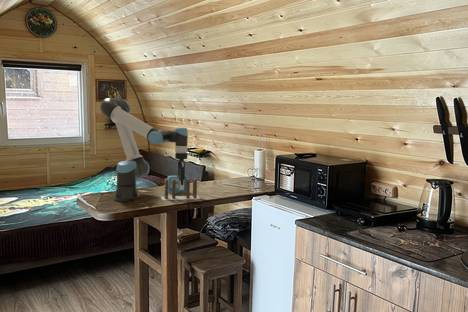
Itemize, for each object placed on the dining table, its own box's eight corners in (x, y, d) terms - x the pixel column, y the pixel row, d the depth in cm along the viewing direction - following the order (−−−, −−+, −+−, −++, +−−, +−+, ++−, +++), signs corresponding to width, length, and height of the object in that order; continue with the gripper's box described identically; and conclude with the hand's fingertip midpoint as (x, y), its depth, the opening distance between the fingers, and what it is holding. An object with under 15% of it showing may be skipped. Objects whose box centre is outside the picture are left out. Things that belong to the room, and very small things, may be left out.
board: (162, 201, 260) (162, 200, 260) (160, 198, 269) (160, 196, 269) (200, 200, 267) (200, 198, 266) (197, 197, 276) (197, 195, 276)
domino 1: (165, 199, 263) (165, 179, 261) (164, 197, 268) (164, 178, 266) (168, 198, 263) (168, 179, 262) (167, 197, 268) (167, 178, 267)
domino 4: (187, 198, 266) (187, 179, 265) (185, 196, 271) (186, 178, 270) (189, 198, 267) (189, 179, 266) (188, 196, 272) (188, 178, 270)
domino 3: (180, 191, 265) (180, 172, 263) (179, 189, 269) (179, 170, 268) (183, 190, 265) (183, 171, 264) (181, 189, 270) (181, 170, 269)
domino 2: (172, 198, 264) (173, 179, 263) (171, 197, 269) (171, 178, 267) (175, 198, 264) (175, 179, 263) (174, 197, 269) (174, 178, 268)
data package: (169, 194, 280) (169, 176, 279) (166, 193, 284) (167, 175, 283) (186, 193, 286) (186, 176, 285) (183, 192, 290) (183, 175, 289)
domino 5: (194, 198, 268) (194, 179, 266) (192, 196, 273) (193, 178, 271) (196, 198, 268) (197, 179, 267) (195, 196, 273) (195, 178, 272)
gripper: (189, 153, 257) (189, 191, 260) (185, 150, 274) (184, 186, 277) (177, 154, 255) (177, 192, 258) (173, 150, 272) (173, 186, 275)
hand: (181, 189), depth 267 cm, fingers closed on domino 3, 5 cm apart
